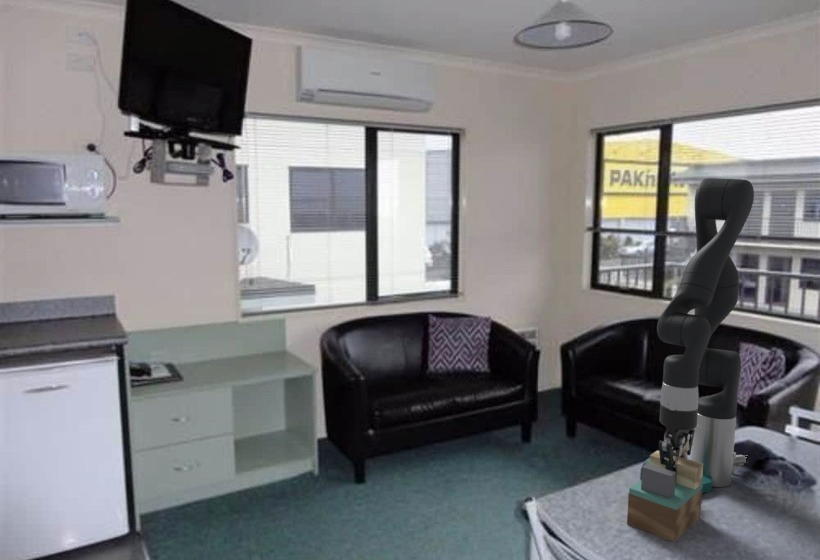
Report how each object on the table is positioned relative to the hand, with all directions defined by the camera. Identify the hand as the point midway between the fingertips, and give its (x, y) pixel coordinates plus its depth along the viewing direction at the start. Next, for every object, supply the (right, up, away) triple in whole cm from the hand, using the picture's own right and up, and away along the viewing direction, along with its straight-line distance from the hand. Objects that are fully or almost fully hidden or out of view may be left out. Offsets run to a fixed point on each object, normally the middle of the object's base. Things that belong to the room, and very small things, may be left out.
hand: (674, 478), depth 133 cm
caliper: (+31, -6, +26) cm, 40 cm away
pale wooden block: (0, 0, 0) cm, 0 cm away
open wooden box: (-3, -9, -2) cm, 9 cm away
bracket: (+6, -7, +12) cm, 15 cm away
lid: (-3, -2, -3) cm, 5 cm away
